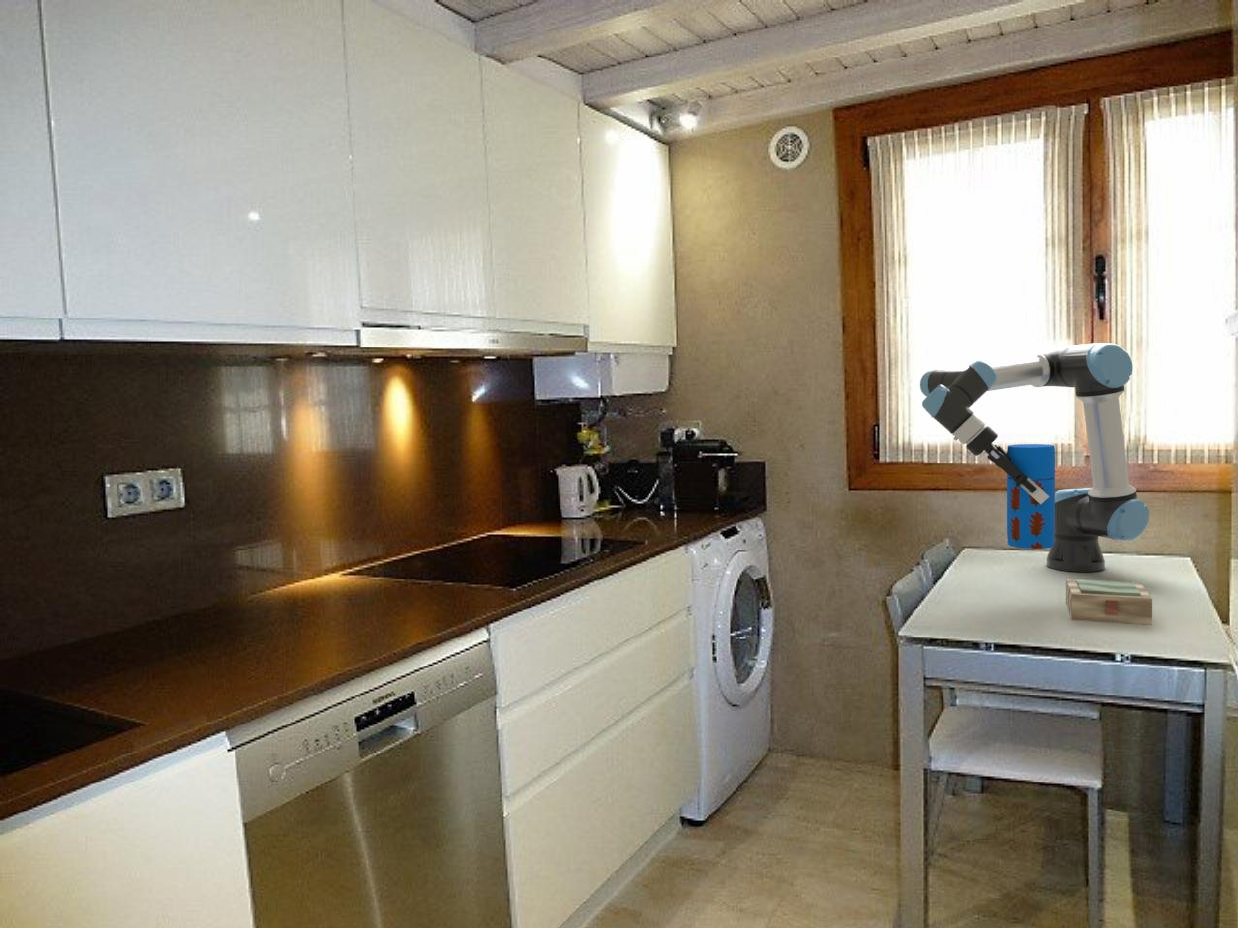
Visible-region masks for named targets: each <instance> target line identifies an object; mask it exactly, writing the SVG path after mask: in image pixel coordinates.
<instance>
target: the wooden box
mask: <svg viewBox="0 0 1238 928" xmlns="http://www.w3.org/2000/svg"><path fill="white" fill-rule="evenodd" d="M1065 605H1066V607H1067V610H1068V612H1069V613H1068V614H1069V615H1070V618H1071V621H1087V622H1101V623H1117V624H1118V623H1120V624H1134V625H1135V624H1137V625H1147V626H1148V625H1151V626H1152V624H1153V597H1152V596H1151V595H1150V593H1149V591H1147V589H1146V587H1144V585H1143V584H1142V583H1141V582H1135V581H1129V580H1128V581H1127V580H1104V579H1103V580H1101V579H1087V578H1085V579H1084V578H1075V579H1068V578H1066V579H1065Z"/></svg>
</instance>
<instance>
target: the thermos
mask: <svg viewBox="0 0 1238 928" xmlns="http://www.w3.org/2000/svg"><path fill="white" fill-rule="evenodd" d="M1006 453H1007V455H1008V456H1009V457H1010V458H1011V460H1010V461H1011V462H1012V463H1013V464H1014V465H1015V466H1016V467H1017V468H1018V469H1019V470H1020V471H1021V472H1022V473H1023V474H1024V475H1026V476H1027V478H1028V477H1029V478H1030V479H1031V480H1032V481H1033V482H1034V483H1035V484H1036V485H1037V486H1038V487H1040V488H1041V489H1042V490H1043V491H1044V492H1045V493H1046V494H1047V495H1048V496H1049V498H1047V499H1046V500H1045V501H1044V502H1043V503H1042V504H1040V503H1039V502H1037V501H1036V500H1035V499H1034V498H1033V497H1032V496H1031V495H1030V494H1029V493H1028V492H1027V491H1025V490H1024V489H1023V488H1022V487H1021V486H1019V487H1017V486H1016V485H1015V484H1017V483H1016V482H1015V481H1014V480H1013V479H1012V478H1011V477H1010V476H1009V475H1008V474H1007V473H1006V534H1007V535H1006V536H1007V537H1006V538H1007V545H1008V546H1009V547H1013V548H1016V549H1017V548H1018V549H1027V550H1046V549H1050V548H1051V547H1053V546H1054V534H1055V493H1056V449H1055V445H1053V444H1047V443H1045V444H1043V443H1024V444H1023V443H1021V444H1019V443H1018V444H1009V445H1008V446H1007V451H1006Z"/></svg>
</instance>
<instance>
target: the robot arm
mask: <svg viewBox="0 0 1238 928" xmlns="http://www.w3.org/2000/svg"><path fill="white" fill-rule="evenodd" d="M1132 375H1133V362H1132V359H1131V356H1130V354H1129V353H1128V352H1127V350H1126V349H1124V348H1122V347H1121V345H1120V344H1119V345H1118V344H1115V343H1105V342H1099V343H1087V344H1086V343H1085V344H1078V345H1077V344H1075V345H1074V344H1073V345H1066V346H1061V347H1057V348H1053V349H1049V350H1046V351H1041V352H1034V353H1031V354H1030V355H1028V357H1026V358H1025V357H1024V358H1018V359H1010V360H1005V361H997V362H990V363H987V362H986V361H983V360H975V361H974V362H971V364H968V365H967V366H961V367H956V368H947V369H941V370H940V369H939V370H938V369H936V370H935V369H934V370H930V371H927V372H925V373H924V374H923V375H922V376H921V378H920V381H919V389H920V391H921V393H922V394H923V396H925V398H924V399H923V400H922V402H921V407H922V408H923V409H924V410H925V411H926V412H927V413H928V414H929V415H930V417H931V418H932V419H934V420H936V422H938V423H939V424H940V425H941V426H942V427H943V428H944V429H945V430H947V431H948V432H949V434H951V435H952V436H954V437H952V438H953V440H954V441H957V440H958V441H959V442H960V444H962V445H965V444H966V445H965V448H966V449H967V450H968V451H969V452H970V453H971V454H973V456H976V457H978V456H979V455H981V454H982V453H983V452H985V453H986V454H988V455H987V459H988V460H989V461H990V462H991V463H994V464H995V465H996V466H997V467H998V468H1000V469H1002V471H1003V472H1005V473H1006V475H1007V474H1008V475H1009V476H1010V477H1011V478H1012V479H1013V480H1014V481H1015V482H1016V483H1017V484H1015V485H1016V486H1017V487H1019V486H1021V487H1022V488H1023V489H1024V490H1025V491H1027V492H1028V493H1029V494H1030V495H1031V496H1032V497H1033V498H1034V499H1035V500H1036V501H1037V502H1039V503H1040V504H1042V503H1043V502H1044V501H1045V500H1046V499H1047V498H1049V496H1048V495H1047V494H1046V493H1045V492H1044V491H1043V490H1042V489H1041V488H1040V487H1038V486H1037V485H1036V484H1035V483H1034V482H1033V481H1032V480H1031V479H1030V478H1029V477H1028V478H1027V476H1026V475H1024V474H1023V473H1022V472H1021V471H1020V470H1019V469H1018V468H1017V467H1016V466H1015V465H1014V464H1013V463H1012V462H1011V461H1010V460H1011V458H1010V457H1009V456H1008V455H1007V451H1005V450H1004V448H1003V447H1002V446H1001V445H997V444H993V443H994V441H996V440H997V438H998V433H997V432H996V431H994V430H993V428H991V427H990V426H988V425H987V426H986V422H985V421H984V420H983V419H981V418H980V417H979V416H978V415H977V414H976V412H973V410H971V409H970V408H971V407H972V406H973V405H974V404H975V403H976V402H977V401H978V400H979V399H980V398H981V397H983V395H985V393H987V392H989V391H990V392H991V391H996V390H997V391H998V390H1003V389H1009V388H1019V387H1025V386H1030V385H1031V386H1032V387H1035V388H1041V387H1060V388H1062V387H1063V388H1064V387H1065V388H1074V391H1075V392H1074V393H1075V397H1076V398H1077V399H1078V400H1080V401H1082V405H1083V413H1084V422H1085V428H1086V438H1087V444H1088V454H1089V461H1090V462H1089V463H1090V468H1091V469H1090V470H1091V478H1092V479H1091V480H1092V487H1085V488H1082V487H1081V488H1068V489H1067V488H1066V489H1059V490H1057V491H1055V534H1054V546H1053V547H1051V548H1049V550H1048V553H1047V556H1046V566H1047V567H1048V568H1050V569H1052V570H1053V569H1054V570H1057V571H1058V570H1059V571H1065V572H1079V573H1088V572H1089V573H1092V572H1094V573H1095V572H1100V571H1104V570H1105V566H1106V562H1105V557H1104V555H1103V551H1102V550H1101V546H1100V543H1099V537H1101V538H1106V539H1111V540H1113V541H1125V542H1126V541H1132V540H1135V539H1137V538H1138V537H1140V536H1141V535H1142V534H1143V532H1144V530H1146V529H1147V526H1148V524H1149V520H1150V511H1149V507H1148V505H1147V504H1145V502H1144V501H1143V500H1141V499H1139V498H1138V495H1137V489H1136V487H1135V486H1133V485H1131V484H1130V483H1129V482H1130V481H1129V473H1128V464H1127V463H1128V462H1127V456H1126V447H1125V440H1124V438H1125V437H1124V431H1123V423H1122V415H1121V414H1122V412H1121V405H1120V397H1121V395H1123V394H1124V392H1125V385H1126V384H1127V383H1128V382H1129V381H1130V379H1131V376H1132Z"/></svg>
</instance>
